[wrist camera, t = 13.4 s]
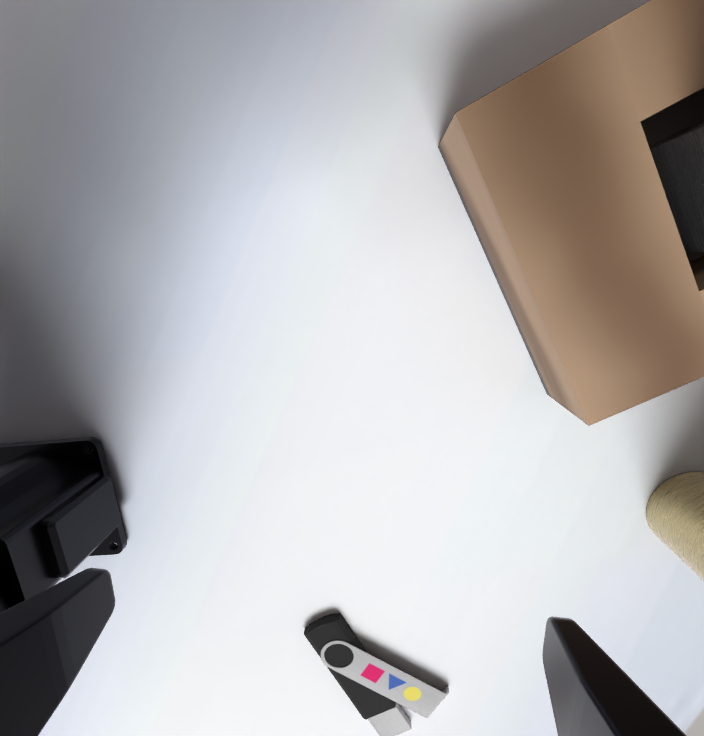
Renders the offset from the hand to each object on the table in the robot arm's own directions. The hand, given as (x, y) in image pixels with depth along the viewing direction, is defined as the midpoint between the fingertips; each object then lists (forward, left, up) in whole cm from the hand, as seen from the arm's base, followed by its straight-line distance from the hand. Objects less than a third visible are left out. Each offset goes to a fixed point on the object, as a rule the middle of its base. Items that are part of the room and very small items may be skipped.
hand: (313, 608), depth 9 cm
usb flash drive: (0, -15, -13) cm, 20 cm away
